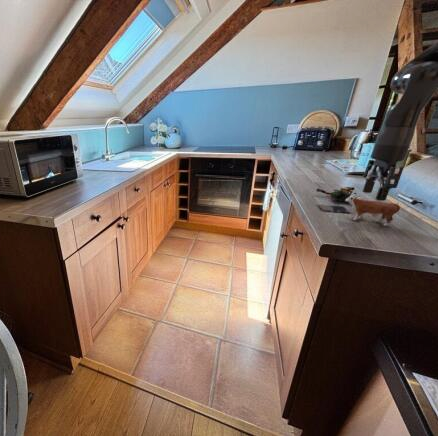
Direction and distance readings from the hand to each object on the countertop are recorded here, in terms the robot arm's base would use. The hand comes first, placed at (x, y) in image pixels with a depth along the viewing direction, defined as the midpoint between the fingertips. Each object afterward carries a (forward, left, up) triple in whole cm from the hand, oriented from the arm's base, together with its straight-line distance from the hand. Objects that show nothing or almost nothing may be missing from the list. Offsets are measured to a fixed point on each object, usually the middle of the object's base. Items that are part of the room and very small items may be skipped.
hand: (373, 196), depth 77 cm
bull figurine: (0, 0, -9) cm, 9 cm away
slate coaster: (+6, -10, -9) cm, 14 cm away
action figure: (-2, -24, -9) cm, 26 cm away
